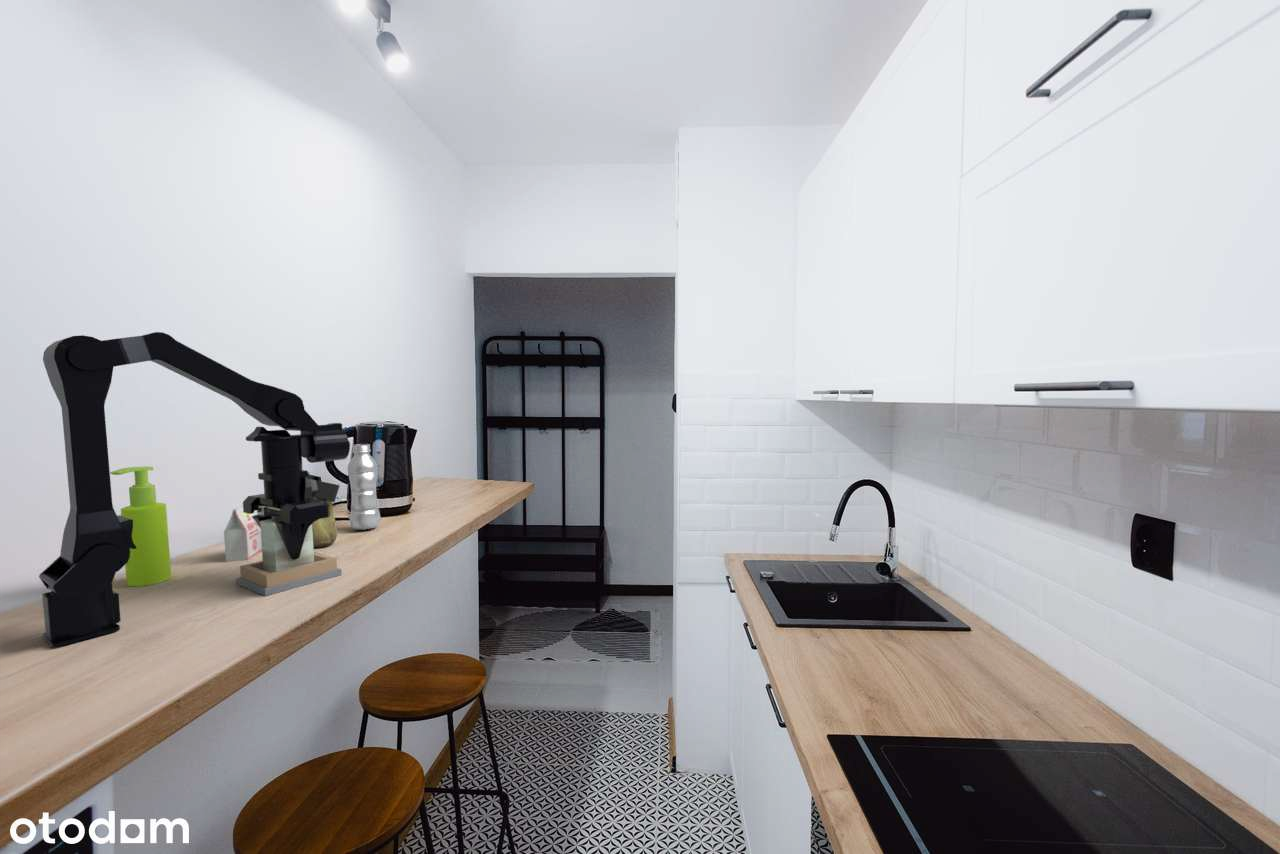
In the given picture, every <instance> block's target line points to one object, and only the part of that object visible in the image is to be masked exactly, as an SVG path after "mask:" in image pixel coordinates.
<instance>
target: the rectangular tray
mask: <svg viewBox="0 0 1280 854" xmlns="http://www.w3.org/2000/svg"><path fill="white" fill-rule="evenodd" d="M239 570H240V577H236V579H235V580H236V581H235V582H236V585H238V586H241V587H244V588H246V589H248V590H250V591H253V592H254V593H257V594H261V595H262V596H265V597H267V596H269V595H270V596H271V595H274V594H277V593H280V592H281V593H282V592H285V591H289V590H291V589H295V588H299V587H304V586H307V585H310V584H315V583H317V582H321V581H324V580H328V579H332V578H335V577H339V576H342V569H341V568H339V567H338V565H337V557H333V556H330V555H326V554H322V553H320V552H315V551H314V562H313V563H309V564H305V565H301V566H297V567H293V568H289V569H285V570H281V571H277V572H273V573H269V572H266V571H263V560H259V561H256V562H251V563H247V564H244V565H240V566H239Z"/></svg>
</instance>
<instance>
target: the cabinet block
mask: <svg viewBox="0 0 1280 854" xmlns="http://www.w3.org/2000/svg"><path fill="white" fill-rule="evenodd" d="M278 521H282V519H281V517H280V515H277V516H272V519H269V520H263V521H260V527H261V528H260V530H261V545H262V551H261V554H262V561H263V571H266V572H269V573H273V572H277V571H281V570H285V569H289V568H293V567H297V566H301V565H305V564H309V563H313V562H314V552H315V551H314V547H313V532H312V524H311V525H310V526H309V528H308V530H307V533H306V536H305V539H304V543H303V546H302V550H301V553H300V557H299V558H298V559H291V557H290V555H289V553H288V551H287V549H286V546H285V544H284V542H283V540H282V537H281V535H280V533H279V531H278V528H277V526H276V524H275V522H278Z"/></svg>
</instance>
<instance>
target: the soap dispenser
mask: <svg viewBox="0 0 1280 854" xmlns="http://www.w3.org/2000/svg"><path fill="white" fill-rule="evenodd" d="M148 471H154V466H131V467H130V466H129V467H124V468H119V469H115V470H113V471H111V472H110V475H113V476H114V475H115V476H116V475H117V476H118V475H124V474H128V473H134V482H135V483H134V484H133V485H131V486H130V487H128V491H129V492H128V494H129V504H130V505H129V506H125V507H122V508H120V515H121V516H123V517H126V518H129V519H132V520H133V530H132V540H133V543H134V544H135V546H136V549H132V548H130V557H129V560H128V562H127V564H125V565H124V568H125V578H126V579H125V580H126V586H127V587H132V586H136V587H144V585H146V586H149V585H155V584H159V583H162V582H163V583H164V582H166V581H168V580H170V579H171V578H172V568H171V554H170V553H171V552H170V543H169V529H168V515H167V514H168V513H167V504H166V503H164V502H157V493H156V492H157V491H156V484H152V483H151V482H150V483H149V475H148Z"/></svg>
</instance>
